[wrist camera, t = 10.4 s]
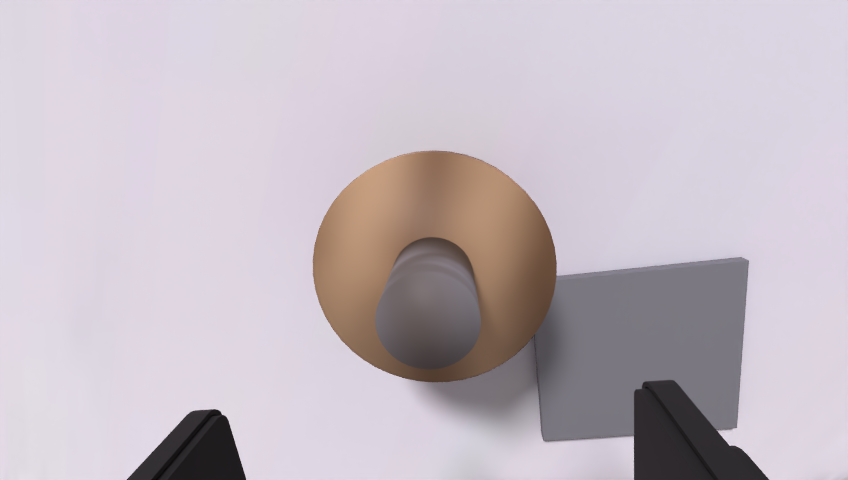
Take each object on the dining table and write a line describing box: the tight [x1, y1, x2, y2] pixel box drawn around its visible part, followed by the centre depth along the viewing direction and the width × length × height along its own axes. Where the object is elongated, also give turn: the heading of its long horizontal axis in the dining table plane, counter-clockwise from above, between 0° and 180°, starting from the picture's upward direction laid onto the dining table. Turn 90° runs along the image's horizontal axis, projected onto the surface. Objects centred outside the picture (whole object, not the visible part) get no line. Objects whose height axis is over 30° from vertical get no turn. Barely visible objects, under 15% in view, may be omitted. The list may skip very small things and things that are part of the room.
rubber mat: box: [534, 257, 749, 441], centre depth 32 cm, size 15×14×1 cm
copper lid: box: [313, 151, 557, 382], centre depth 19 cm, size 12×12×6 cm
